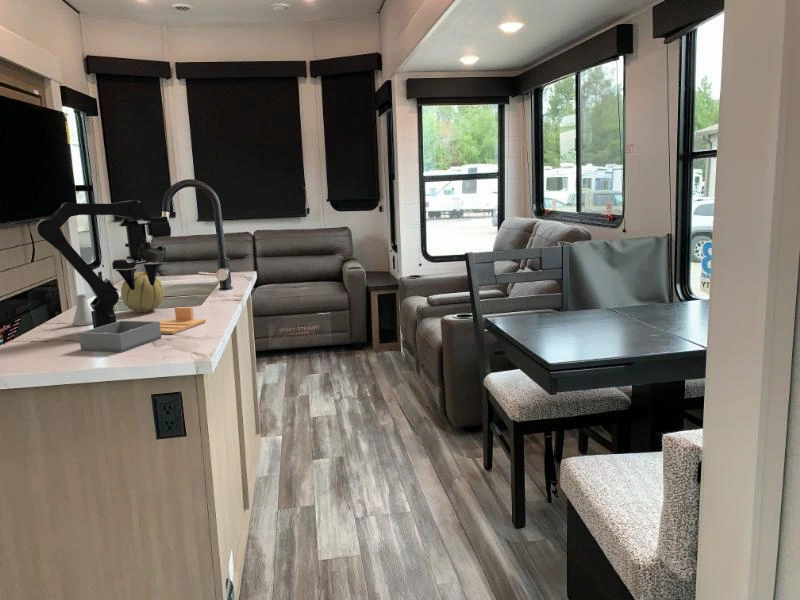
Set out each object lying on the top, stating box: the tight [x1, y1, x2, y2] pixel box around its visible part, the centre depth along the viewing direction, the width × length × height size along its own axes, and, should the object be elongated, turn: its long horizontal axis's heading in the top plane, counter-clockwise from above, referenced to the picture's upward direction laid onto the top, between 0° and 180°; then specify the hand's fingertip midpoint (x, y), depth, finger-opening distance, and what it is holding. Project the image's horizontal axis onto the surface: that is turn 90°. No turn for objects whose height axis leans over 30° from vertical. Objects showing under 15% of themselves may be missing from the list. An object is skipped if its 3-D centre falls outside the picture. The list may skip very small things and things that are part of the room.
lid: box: [159, 306, 207, 335], centre depth 200 cm, size 15×17×5 cm
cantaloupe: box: [120, 271, 165, 313], centre depth 229 cm, size 15×15×15 cm
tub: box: [78, 320, 162, 353], centre depth 180 cm, size 14×16×5 cm
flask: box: [71, 293, 93, 327], centre depth 212 cm, size 7×7×10 cm
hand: (143, 287), depth 207 cm, fingers open, 9 cm apart
